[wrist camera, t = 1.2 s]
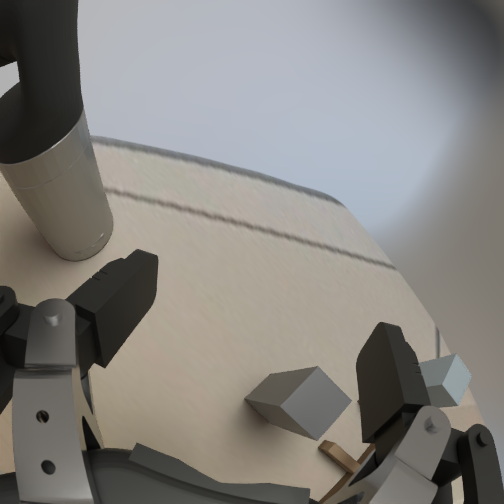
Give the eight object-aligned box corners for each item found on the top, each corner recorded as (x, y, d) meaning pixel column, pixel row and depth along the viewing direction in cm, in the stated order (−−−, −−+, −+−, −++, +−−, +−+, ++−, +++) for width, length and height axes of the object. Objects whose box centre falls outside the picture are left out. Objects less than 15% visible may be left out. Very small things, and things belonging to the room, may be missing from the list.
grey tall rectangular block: (244, 398, 27) (279, 406, 17) (270, 373, 29) (318, 366, 19) (269, 422, 27) (317, 440, 16) (294, 398, 28) (351, 400, 18)
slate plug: (372, 392, 30) (442, 384, 20) (388, 369, 32) (456, 353, 22) (389, 409, 30) (458, 405, 19) (404, 386, 31) (471, 375, 21)
